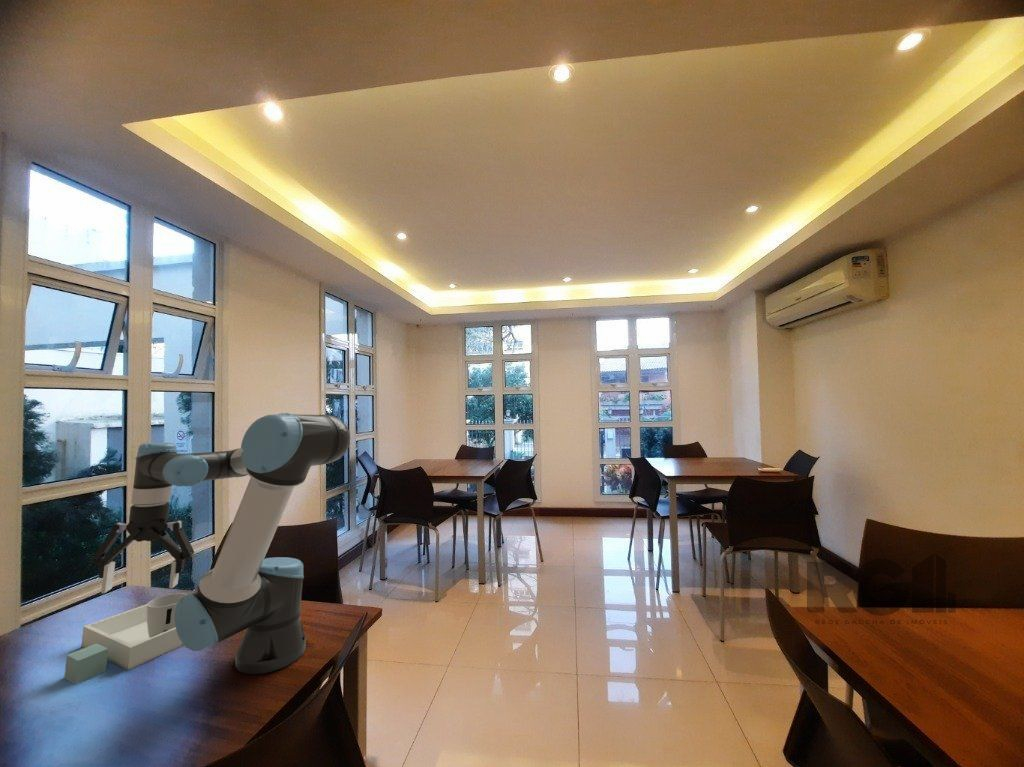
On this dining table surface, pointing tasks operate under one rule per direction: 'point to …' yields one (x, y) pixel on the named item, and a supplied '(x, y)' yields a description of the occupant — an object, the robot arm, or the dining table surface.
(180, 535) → the robot arm
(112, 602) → the dining table surface
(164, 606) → the cup
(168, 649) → the tote
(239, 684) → the dining table surface
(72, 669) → the cube
